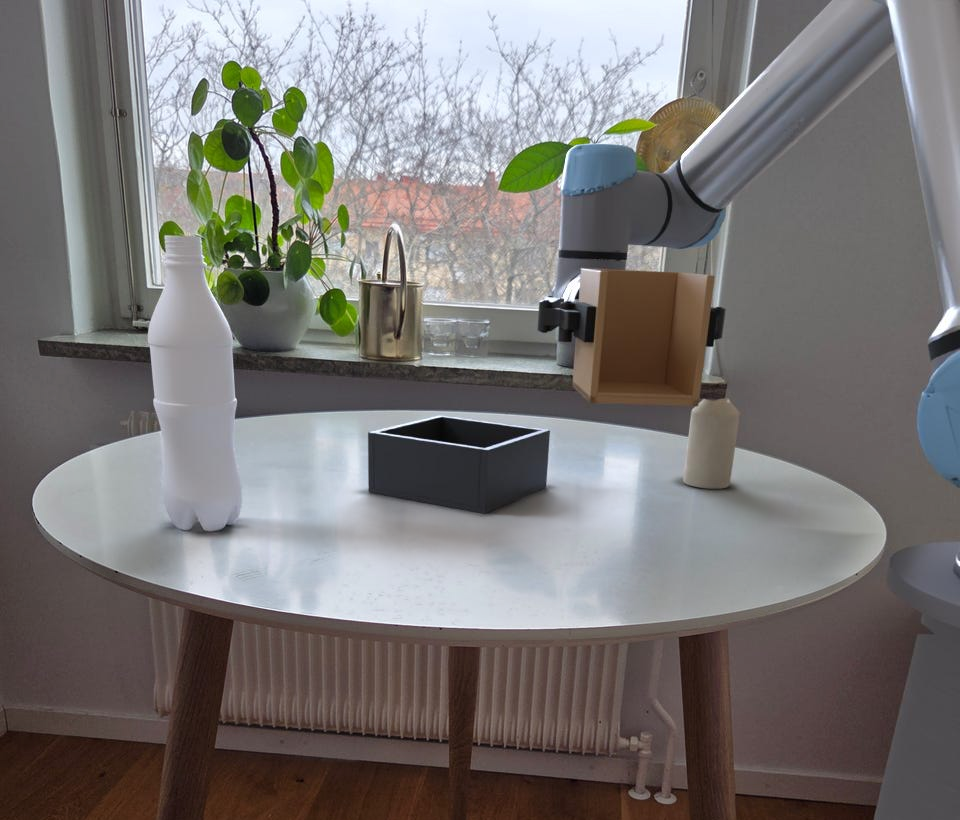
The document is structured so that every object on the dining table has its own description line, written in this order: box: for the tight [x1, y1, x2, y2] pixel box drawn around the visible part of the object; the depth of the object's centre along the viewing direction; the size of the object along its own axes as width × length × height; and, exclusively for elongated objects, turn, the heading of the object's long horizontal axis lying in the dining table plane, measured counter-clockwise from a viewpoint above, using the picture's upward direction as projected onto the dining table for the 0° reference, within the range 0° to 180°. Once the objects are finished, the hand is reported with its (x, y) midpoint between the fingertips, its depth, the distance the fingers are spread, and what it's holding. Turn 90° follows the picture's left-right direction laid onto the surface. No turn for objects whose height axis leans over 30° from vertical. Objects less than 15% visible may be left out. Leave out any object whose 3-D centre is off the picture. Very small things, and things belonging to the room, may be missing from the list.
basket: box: [367, 414, 551, 514], centre depth 103 cm, size 15×15×6 cm
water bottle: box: [147, 234, 243, 532], centre depth 83 cm, size 7×7×25 cm
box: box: [571, 268, 716, 407], centre depth 79 cm, size 10×9×10 cm
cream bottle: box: [682, 398, 741, 490], centre depth 110 cm, size 6×6×10 cm
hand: (650, 326), depth 74 cm, fingers closed on box, 9 cm apart
